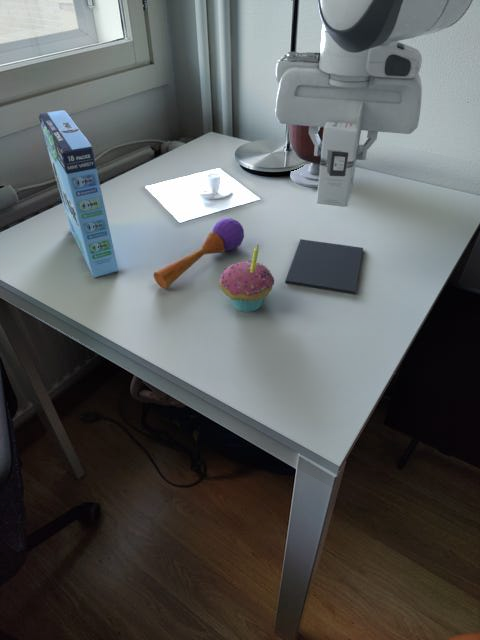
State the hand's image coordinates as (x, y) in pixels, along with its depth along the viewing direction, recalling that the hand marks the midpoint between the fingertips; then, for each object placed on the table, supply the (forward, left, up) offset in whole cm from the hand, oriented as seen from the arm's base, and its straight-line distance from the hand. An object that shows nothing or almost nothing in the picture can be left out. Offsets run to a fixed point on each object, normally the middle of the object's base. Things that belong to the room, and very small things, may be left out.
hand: (340, 156), depth 70 cm
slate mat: (0, 0, -20) cm, 20 cm away
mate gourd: (+8, -38, -20) cm, 44 cm away
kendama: (+22, +5, -20) cm, 30 cm away
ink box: (0, 0, -6) cm, 6 cm away
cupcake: (+11, +14, -20) cm, 27 cm away
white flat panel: (+32, -22, -20) cm, 44 cm away
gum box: (+44, +6, -20) cm, 49 cm away
